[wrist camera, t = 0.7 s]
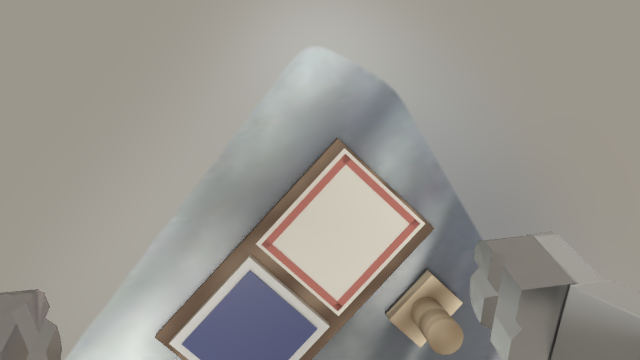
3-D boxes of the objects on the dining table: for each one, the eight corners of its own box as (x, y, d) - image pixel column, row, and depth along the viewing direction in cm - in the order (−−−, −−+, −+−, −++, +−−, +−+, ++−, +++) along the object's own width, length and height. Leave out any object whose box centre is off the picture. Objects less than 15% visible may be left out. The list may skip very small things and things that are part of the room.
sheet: (425, 223, 58) (425, 224, 58) (338, 315, 59) (338, 316, 59) (344, 147, 57) (344, 148, 56) (255, 243, 57) (255, 244, 57)
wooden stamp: (455, 295, 61) (487, 328, 52) (415, 338, 61) (439, 378, 52) (426, 268, 60) (452, 296, 51) (384, 312, 61) (404, 347, 51)
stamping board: (431, 226, 60) (434, 228, 59) (256, 413, 61) (255, 418, 60) (337, 138, 57) (338, 138, 56) (157, 333, 59) (154, 337, 58)
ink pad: (328, 322, 59) (330, 328, 57) (251, 404, 59) (251, 412, 58) (249, 254, 57) (248, 258, 56) (171, 339, 58) (168, 345, 56)
